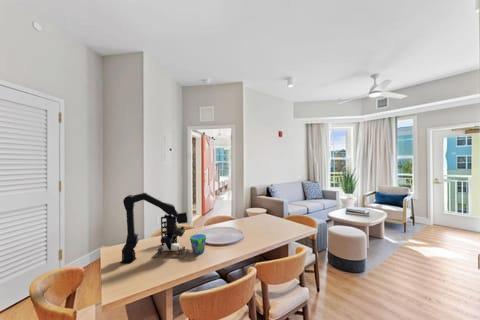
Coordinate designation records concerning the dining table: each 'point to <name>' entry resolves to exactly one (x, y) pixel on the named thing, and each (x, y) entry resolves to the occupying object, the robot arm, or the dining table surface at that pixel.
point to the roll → (173, 247)
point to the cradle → (171, 253)
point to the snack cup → (198, 243)
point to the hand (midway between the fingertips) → (171, 248)
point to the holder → (165, 231)
